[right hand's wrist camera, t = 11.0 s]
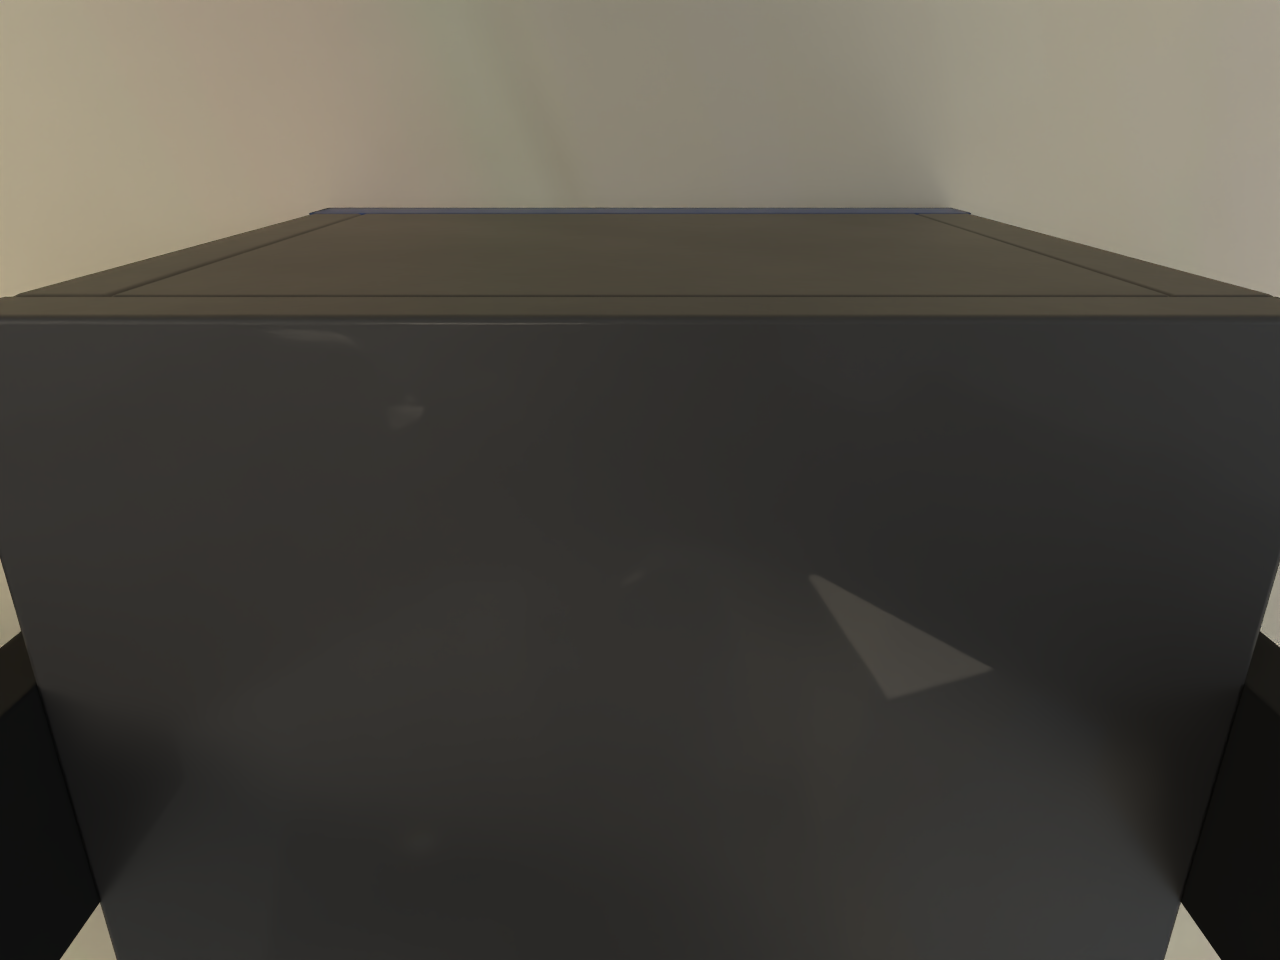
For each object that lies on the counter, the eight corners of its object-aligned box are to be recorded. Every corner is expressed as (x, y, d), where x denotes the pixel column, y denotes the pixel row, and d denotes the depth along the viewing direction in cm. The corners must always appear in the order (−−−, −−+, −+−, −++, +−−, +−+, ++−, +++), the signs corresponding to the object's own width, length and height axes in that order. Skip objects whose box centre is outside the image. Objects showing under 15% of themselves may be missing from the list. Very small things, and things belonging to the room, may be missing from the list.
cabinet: (864, 925, 23) (1018, 1472, 14) (415, 925, 23) (262, 1472, 14) (952, 207, 16) (1356, 314, 7) (328, 207, 16) (-77, 314, 7)
